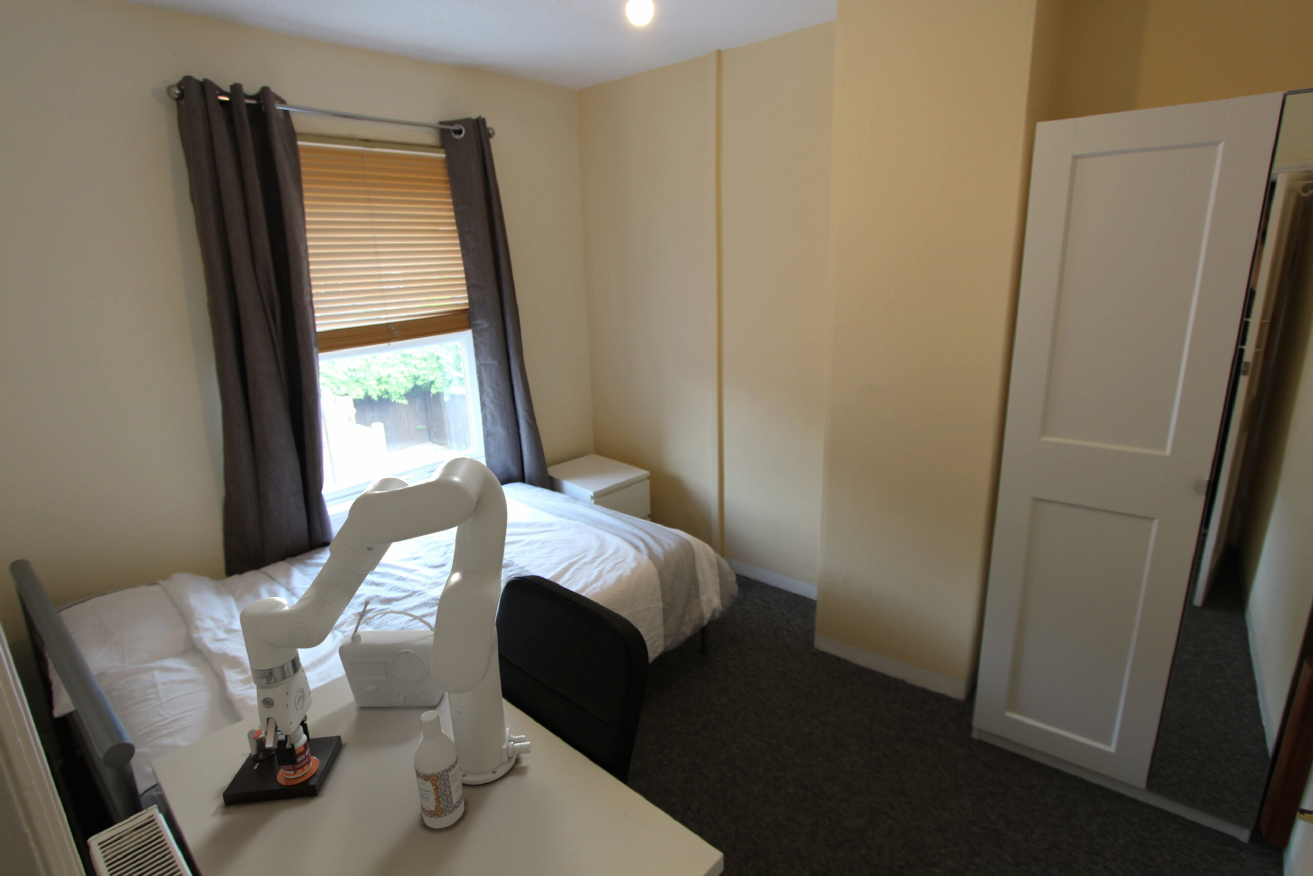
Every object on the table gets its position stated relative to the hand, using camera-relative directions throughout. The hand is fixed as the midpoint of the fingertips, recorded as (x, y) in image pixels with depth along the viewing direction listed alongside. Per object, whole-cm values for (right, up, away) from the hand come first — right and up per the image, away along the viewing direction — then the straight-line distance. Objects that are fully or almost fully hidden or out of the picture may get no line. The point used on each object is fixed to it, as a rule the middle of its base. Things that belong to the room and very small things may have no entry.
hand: (294, 752), depth 122 cm
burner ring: (0, -4, +1) cm, 4 cm away
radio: (+11, 0, +24) cm, 26 cm away
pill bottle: (0, -4, +1) cm, 4 cm away
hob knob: (-9, -3, +6) cm, 11 cm away
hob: (-3, -6, +4) cm, 8 cm away
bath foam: (+30, -8, -7) cm, 31 cm away
